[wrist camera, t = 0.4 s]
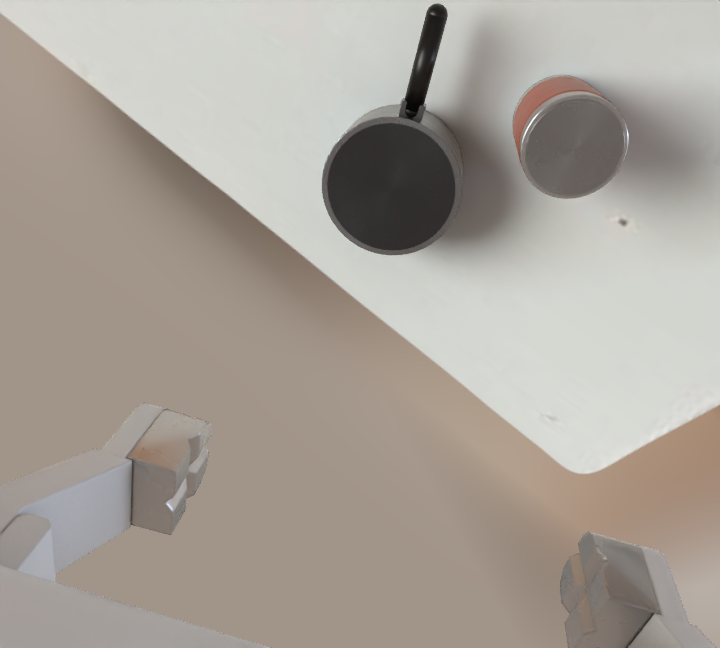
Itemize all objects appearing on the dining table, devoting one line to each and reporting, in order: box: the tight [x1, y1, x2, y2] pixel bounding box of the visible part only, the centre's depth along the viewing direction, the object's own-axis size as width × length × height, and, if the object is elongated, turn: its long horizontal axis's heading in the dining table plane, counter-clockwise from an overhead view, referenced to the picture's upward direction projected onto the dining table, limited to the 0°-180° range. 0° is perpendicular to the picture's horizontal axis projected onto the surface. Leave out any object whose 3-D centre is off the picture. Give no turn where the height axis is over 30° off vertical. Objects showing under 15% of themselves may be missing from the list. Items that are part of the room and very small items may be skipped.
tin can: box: [513, 75, 628, 199], centre depth 46 cm, size 7×7×11 cm
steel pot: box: [322, 4, 463, 255], centre depth 50 cm, size 20×12×6 cm, turn 167°
